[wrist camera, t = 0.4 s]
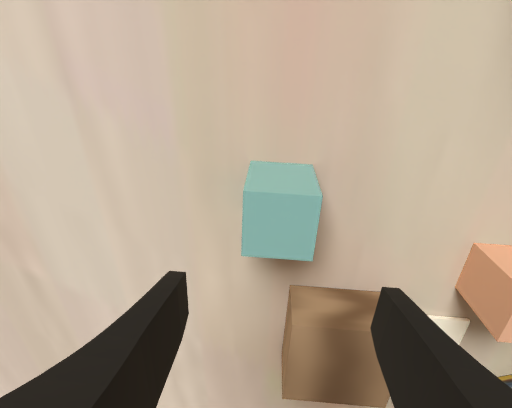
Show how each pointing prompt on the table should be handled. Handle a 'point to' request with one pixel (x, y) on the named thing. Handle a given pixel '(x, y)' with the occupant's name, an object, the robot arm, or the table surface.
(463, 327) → the card
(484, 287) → the terracotta block
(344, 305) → the walnut block
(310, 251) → the teal block
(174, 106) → the table surface
